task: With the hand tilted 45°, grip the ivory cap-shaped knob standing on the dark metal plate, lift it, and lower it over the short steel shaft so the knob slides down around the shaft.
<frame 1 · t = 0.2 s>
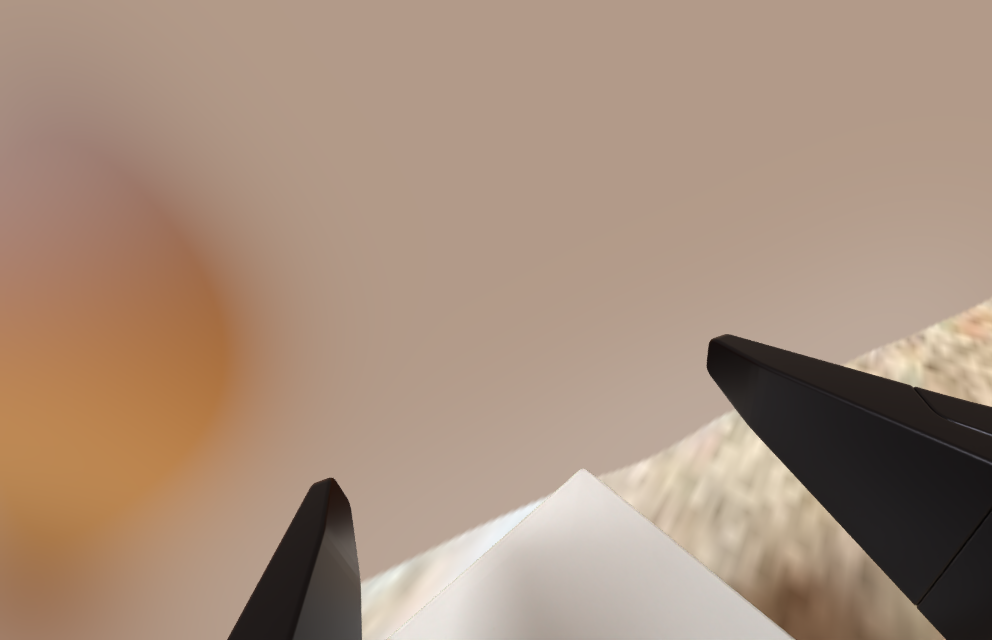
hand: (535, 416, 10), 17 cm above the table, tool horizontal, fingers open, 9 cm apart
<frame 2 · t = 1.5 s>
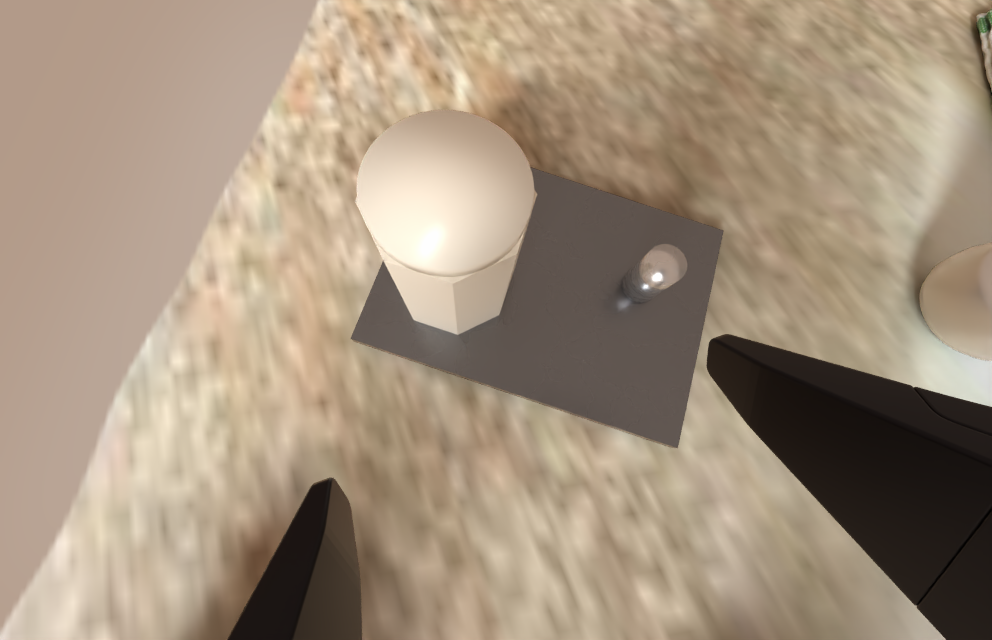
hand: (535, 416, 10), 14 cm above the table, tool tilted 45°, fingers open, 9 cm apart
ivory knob: (454, 277, 24), point 1 cm above the table, touching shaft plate
plastic bottle: (948, 314, 27), on the table
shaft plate: (545, 285, 25), on the table
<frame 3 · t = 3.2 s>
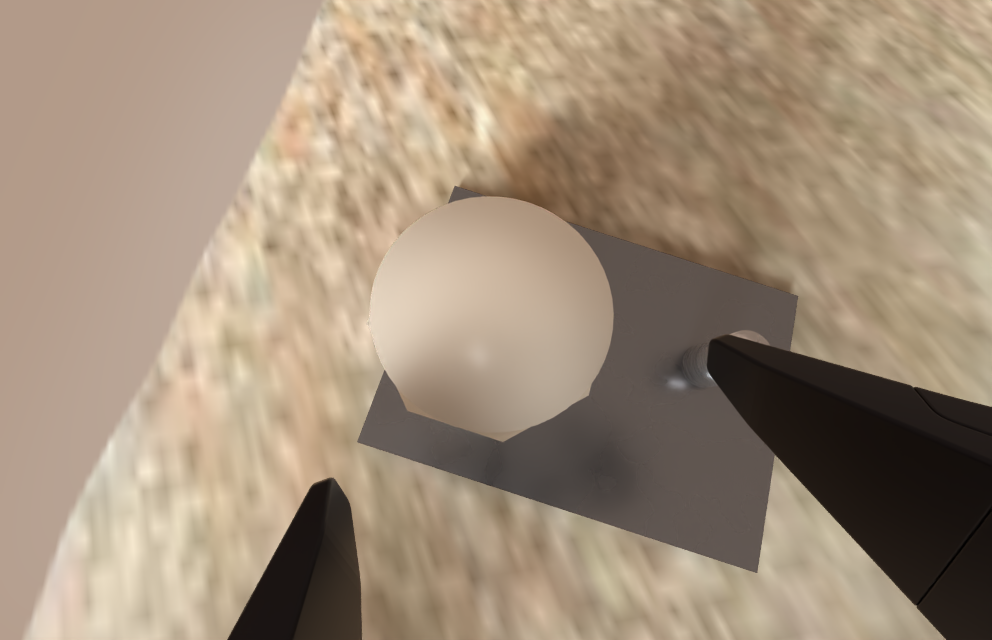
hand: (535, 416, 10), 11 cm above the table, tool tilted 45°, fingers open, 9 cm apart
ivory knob: (481, 361, 20), point 1 cm above the table, touching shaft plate
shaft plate: (588, 365, 21), on the table
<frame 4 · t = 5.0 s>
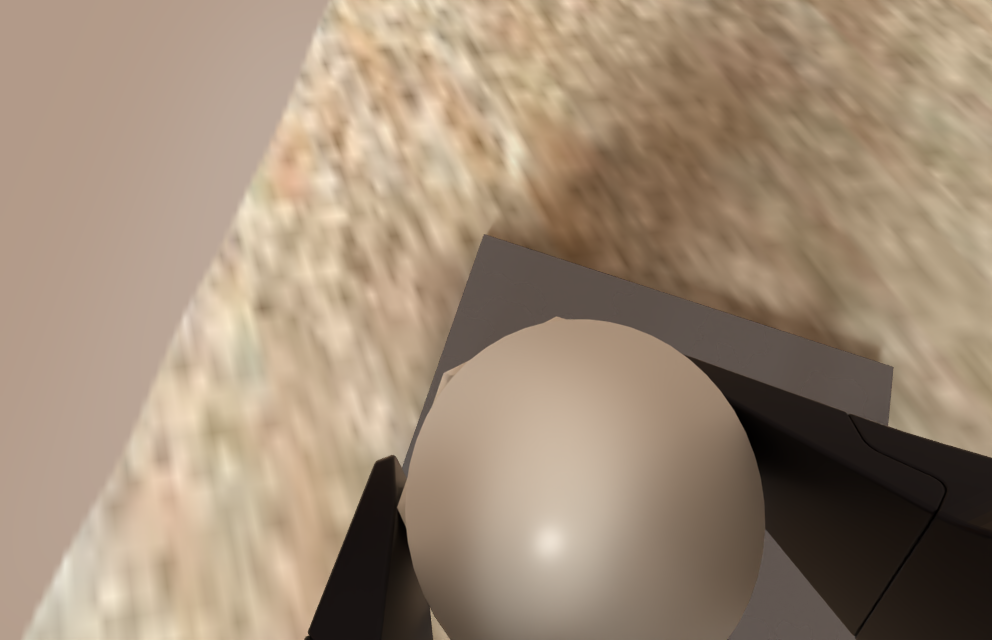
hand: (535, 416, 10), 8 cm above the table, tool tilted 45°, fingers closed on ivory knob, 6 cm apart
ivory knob: (519, 453, 16), point 1 cm above the table, touching gripper, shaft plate
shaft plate: (646, 453, 18), on the table
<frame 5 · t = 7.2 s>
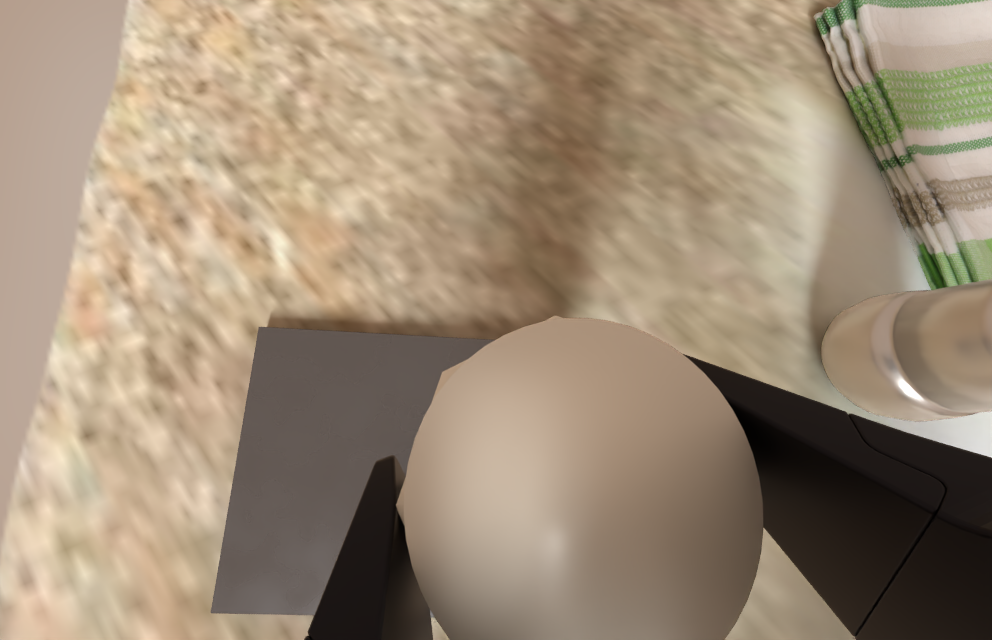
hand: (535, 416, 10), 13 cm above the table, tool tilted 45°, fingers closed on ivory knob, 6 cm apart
dish towel: (968, 148, 30), on the table
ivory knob: (518, 452, 16), point 6 cm above the table, touching gripper
plastic bottle: (855, 363, 25), on the table
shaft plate: (427, 465, 22), on the table
when the fingers open (9 cm above the table, at t = 9.2 s): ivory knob drops 1 cm, resting on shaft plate.
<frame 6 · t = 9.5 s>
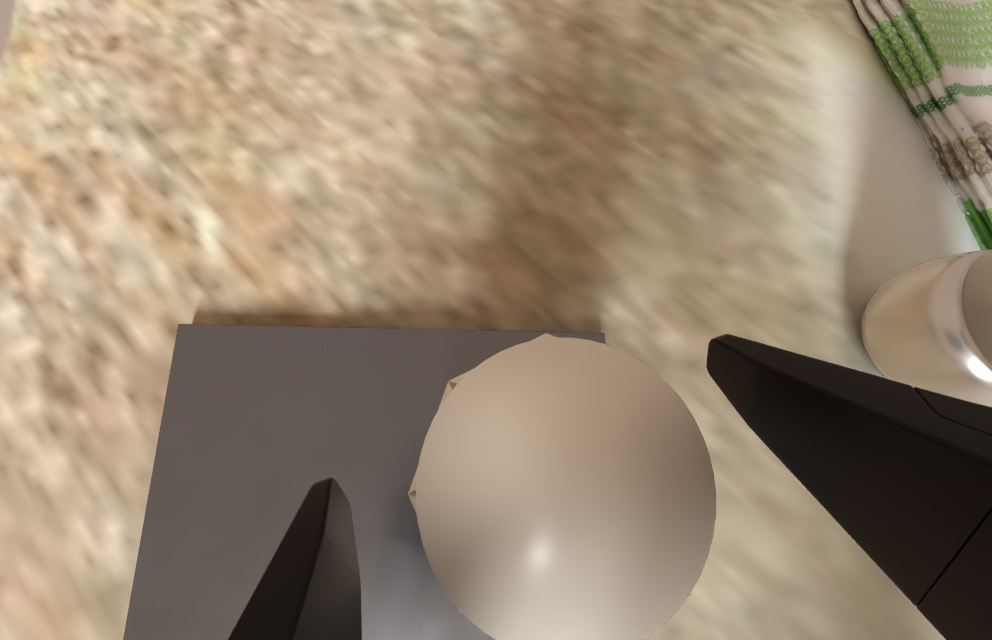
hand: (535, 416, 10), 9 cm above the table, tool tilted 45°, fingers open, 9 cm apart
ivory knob: (515, 451, 18), point 1 cm above the table, touching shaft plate
plastic bottle: (900, 343, 21), on the table
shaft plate: (391, 486, 18), on the table
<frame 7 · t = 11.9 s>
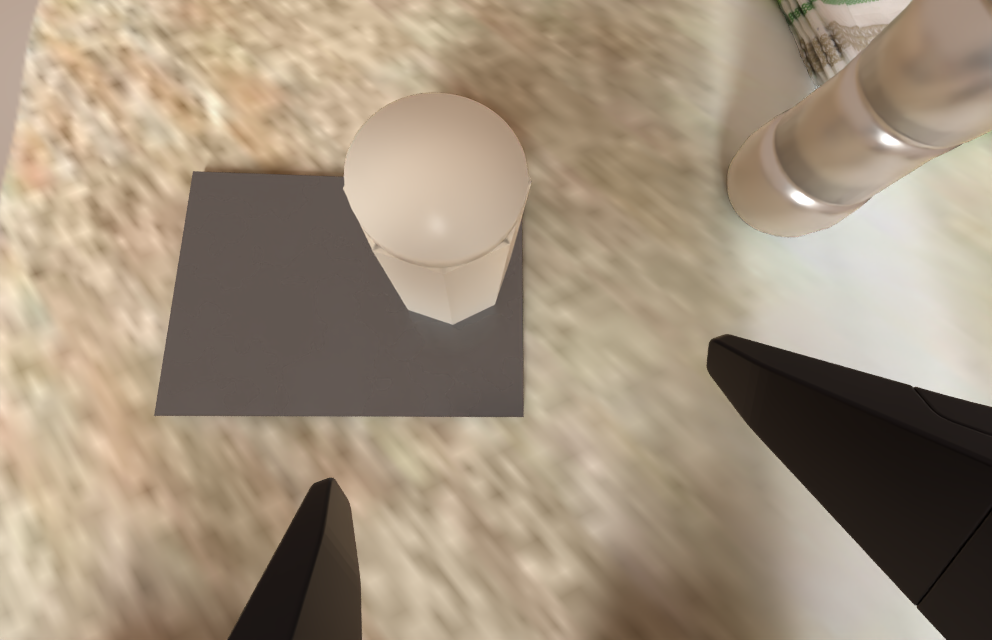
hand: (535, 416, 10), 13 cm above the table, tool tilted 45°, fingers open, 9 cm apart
dish towel: (876, 7, 31), on the table
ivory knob: (449, 265, 24), point 1 cm above the table, touching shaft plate
plastic bottle: (762, 200, 27), on the table
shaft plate: (356, 293, 24), on the table
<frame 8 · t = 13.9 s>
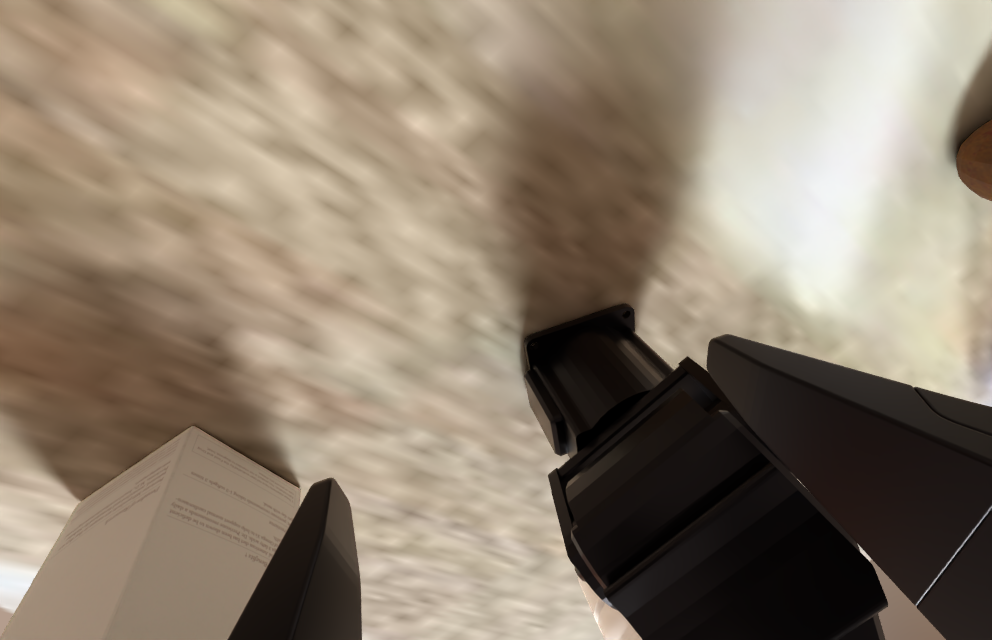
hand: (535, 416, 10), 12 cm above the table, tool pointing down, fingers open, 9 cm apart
potato: (988, 137, 27), on the table
supplement box: (200, 492, 23), on the table
honey pot: (639, 549, 41), on the table
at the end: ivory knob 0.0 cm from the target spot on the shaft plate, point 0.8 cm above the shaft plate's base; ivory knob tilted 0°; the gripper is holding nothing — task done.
